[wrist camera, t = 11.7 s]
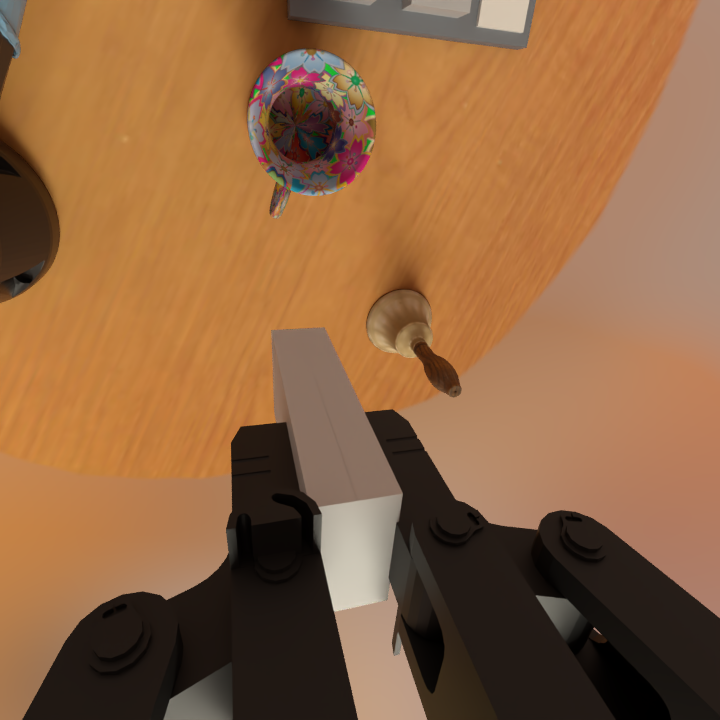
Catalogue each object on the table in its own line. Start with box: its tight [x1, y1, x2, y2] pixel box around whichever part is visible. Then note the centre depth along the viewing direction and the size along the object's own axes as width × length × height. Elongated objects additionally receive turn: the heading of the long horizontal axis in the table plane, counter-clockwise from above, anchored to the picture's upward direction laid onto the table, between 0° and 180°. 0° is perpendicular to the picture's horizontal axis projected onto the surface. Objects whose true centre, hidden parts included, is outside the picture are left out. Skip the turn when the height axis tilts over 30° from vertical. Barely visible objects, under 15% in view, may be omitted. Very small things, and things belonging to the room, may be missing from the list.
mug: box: [247, 48, 376, 219], centre depth 36 cm, size 12×9×11 cm
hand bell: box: [367, 289, 461, 397], centre depth 46 cm, size 8×8×16 cm
